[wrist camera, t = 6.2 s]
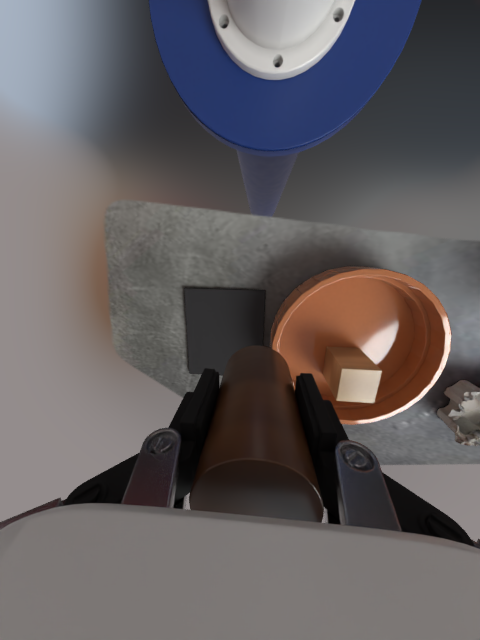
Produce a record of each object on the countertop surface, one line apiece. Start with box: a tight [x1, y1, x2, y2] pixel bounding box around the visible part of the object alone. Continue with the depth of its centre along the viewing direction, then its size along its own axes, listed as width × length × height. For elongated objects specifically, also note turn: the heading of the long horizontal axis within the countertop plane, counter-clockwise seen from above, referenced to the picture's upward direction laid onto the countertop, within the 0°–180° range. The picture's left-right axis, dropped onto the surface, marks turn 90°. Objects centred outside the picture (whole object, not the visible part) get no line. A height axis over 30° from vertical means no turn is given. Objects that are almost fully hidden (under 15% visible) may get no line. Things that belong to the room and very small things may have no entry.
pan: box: [270, 266, 451, 425], centre depth 26 cm, size 18×18×4 cm
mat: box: [184, 288, 265, 375], centre depth 29 cm, size 12×10×1 cm
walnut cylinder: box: [189, 345, 324, 523], centre depth 10 cm, size 4×4×8 cm
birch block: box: [323, 346, 382, 403], centre depth 26 cm, size 4×4×6 cm
